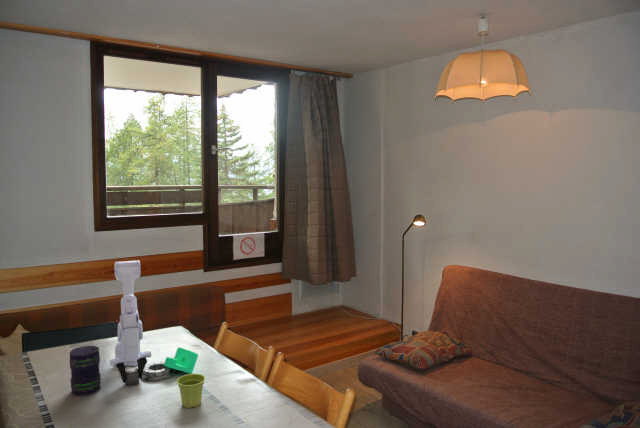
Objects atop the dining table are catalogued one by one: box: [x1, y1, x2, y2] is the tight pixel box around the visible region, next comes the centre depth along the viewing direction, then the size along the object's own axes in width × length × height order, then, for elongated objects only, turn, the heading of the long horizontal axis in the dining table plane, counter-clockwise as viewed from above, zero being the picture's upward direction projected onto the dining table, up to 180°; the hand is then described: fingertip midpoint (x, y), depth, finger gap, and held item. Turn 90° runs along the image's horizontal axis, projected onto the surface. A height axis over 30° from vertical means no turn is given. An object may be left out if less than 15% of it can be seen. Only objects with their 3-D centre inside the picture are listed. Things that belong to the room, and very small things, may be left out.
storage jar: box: [69, 345, 102, 397], centre depth 173 cm, size 10×10×15 cm
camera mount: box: [164, 347, 199, 374], centre depth 189 cm, size 12×8×10 cm
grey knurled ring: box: [141, 361, 176, 382], centre depth 187 cm, size 13×13×3 cm
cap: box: [124, 367, 140, 387], centre depth 179 cm, size 5×5×5 cm
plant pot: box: [176, 373, 206, 409], centre depth 161 cm, size 9×9×9 cm
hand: (132, 379), depth 179 cm, fingers open, 5 cm apart
